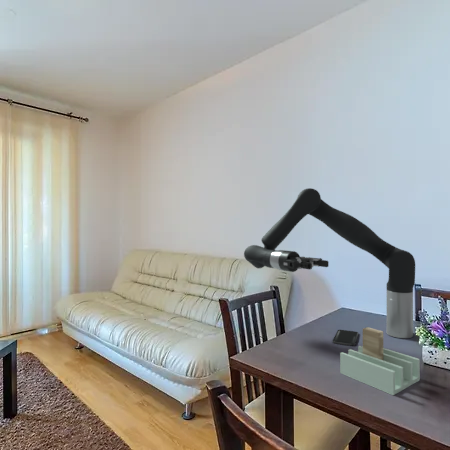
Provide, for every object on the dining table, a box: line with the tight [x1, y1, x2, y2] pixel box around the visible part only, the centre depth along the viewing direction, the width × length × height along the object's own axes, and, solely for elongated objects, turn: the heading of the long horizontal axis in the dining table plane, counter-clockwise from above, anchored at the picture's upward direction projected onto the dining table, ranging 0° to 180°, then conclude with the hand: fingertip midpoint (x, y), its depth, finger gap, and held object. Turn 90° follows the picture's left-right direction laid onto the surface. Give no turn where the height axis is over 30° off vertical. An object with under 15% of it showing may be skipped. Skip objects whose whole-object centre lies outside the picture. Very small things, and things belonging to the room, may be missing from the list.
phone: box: [332, 329, 359, 347], centre depth 132 cm, size 8×1×15 cm
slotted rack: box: [339, 345, 421, 396], centre depth 100 cm, size 14×16×6 cm
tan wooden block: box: [362, 326, 384, 360], centre depth 101 cm, size 2×5×12 cm, turn 35°
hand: (319, 265), depth 116 cm, fingers open, 8 cm apart
